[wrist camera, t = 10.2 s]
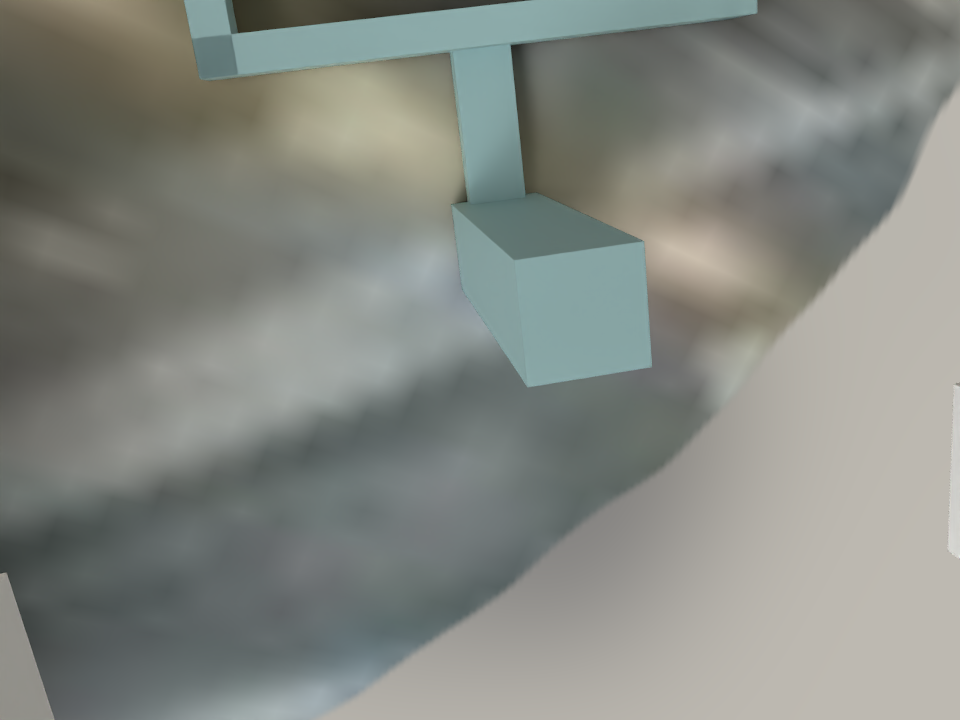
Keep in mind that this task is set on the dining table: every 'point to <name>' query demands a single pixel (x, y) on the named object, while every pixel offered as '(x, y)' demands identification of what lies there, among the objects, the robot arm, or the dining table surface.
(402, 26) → the sled
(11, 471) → the dining table surface
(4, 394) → the dining table surface
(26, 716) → the robot arm
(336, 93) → the dining table surface
